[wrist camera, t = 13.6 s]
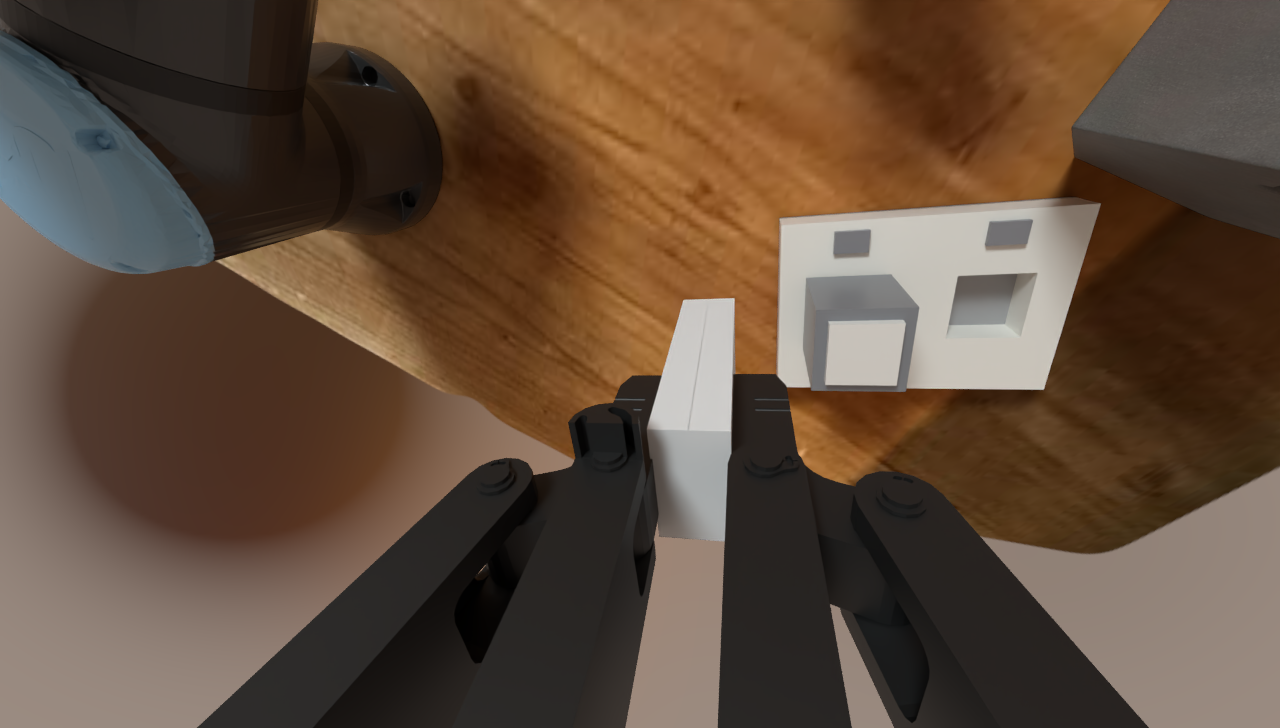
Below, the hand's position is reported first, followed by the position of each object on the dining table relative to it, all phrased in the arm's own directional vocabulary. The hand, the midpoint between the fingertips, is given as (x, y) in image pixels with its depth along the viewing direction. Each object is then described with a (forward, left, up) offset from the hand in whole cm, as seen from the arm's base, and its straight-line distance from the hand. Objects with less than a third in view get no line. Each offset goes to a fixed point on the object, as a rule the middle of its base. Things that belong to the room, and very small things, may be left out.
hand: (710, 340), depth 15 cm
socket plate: (+13, -9, -27) cm, 32 cm away
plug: (+8, -9, -27) cm, 30 cm away
